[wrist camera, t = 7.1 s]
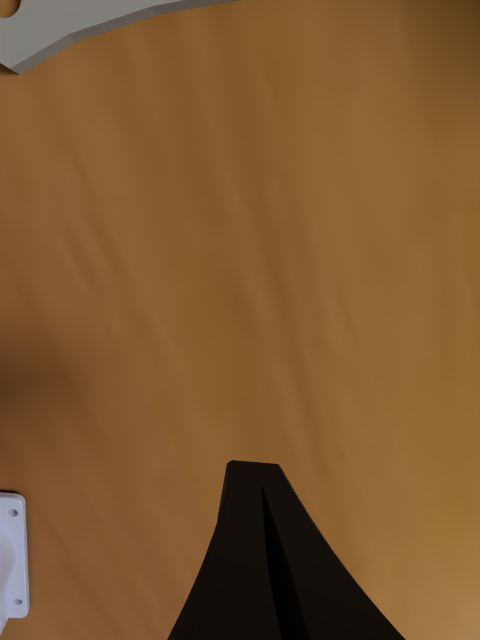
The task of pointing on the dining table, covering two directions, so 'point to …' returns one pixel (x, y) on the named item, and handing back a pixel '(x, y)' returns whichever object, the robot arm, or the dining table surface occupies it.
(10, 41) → the kitchen cleaver
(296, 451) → the dining table surface
